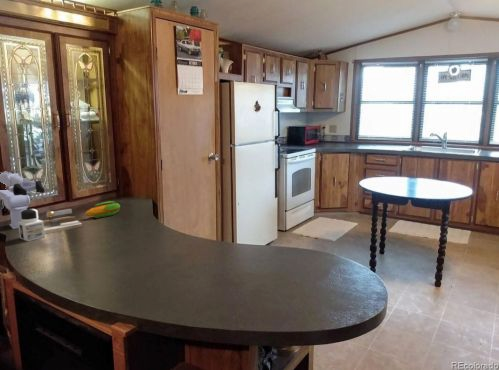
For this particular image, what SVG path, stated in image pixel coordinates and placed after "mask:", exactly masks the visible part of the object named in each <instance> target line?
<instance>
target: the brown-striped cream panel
mask: <svg viewBox="0 0 499 370" xmlns="http://www.w3.org/2000/svg"><path fill="white" fill-rule="evenodd" d="M47 218H48V219H47V220H42V221H43V224H44V232H45V235H48V234H53V233H56V232H61V231H68V230H72V229H77V228H83V223H82V222H81V221H80V220H77V216H74V215H73V216H64V217H59V218H54V217H47Z"/></svg>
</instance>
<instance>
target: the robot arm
mask: <svg viewBox="0 0 499 370" xmlns="http://www.w3.org/2000/svg"><path fill="white" fill-rule="evenodd" d="M0 173H1V174H0V182H1V183H3V184H5V185H6V187H8V189H7V190H0V197H1V199H0V200H3V205H4V206H5V208H6V209H7V210H9V215H10V222H11V223H9V226H10V227H11V228H12V229H13V230H14V229H19V227H18V222H20V221H22V217H21V212H22V211H23V210H27V209H29V205H31V198H30V196H29V195H28V193H30V192H33V191H36V192H35V193H41V194H44V193H45V188H44V183H43V182H42V181H41V180H37V181H36V180H35V181H31V180H29V179H28V178H27V177H26V178H24V177H22V175H21V174H20V173H19V172H16V173H12V172H8V171H6V170H5V171H2V172H0Z"/></svg>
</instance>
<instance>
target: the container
mask: <svg viewBox="0 0 499 370" xmlns="http://www.w3.org/2000/svg"><path fill="white" fill-rule="evenodd" d="M21 217H22V221H20V222H18V227H19V228H18V233H19V239H21V240H24V241H26V242H30V241H31V242H32V241H34V240H38V239H42V238H45V237H46V234H45V232H44V224H43V221H44V220H42V219H39V211H38V210H37V209H35V208H27V210H23V211H22V212H21Z"/></svg>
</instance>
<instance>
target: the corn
mask: <svg viewBox="0 0 499 370" xmlns="http://www.w3.org/2000/svg"><path fill="white" fill-rule="evenodd" d="M120 209H121V205H120V204H119V203H118V202H116V201H114V200H113V201H109V200H108V201H104V202H99V203H96V206H94V207H92V208H89V209H88V210H86V212H85V213H84V215H86V216H88V217H93V218H94V219H98V218H99V219H100V218H101V219H102V218H106V217H110V216H113V215H116V214H117V213H118V212H119V211H120Z"/></svg>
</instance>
